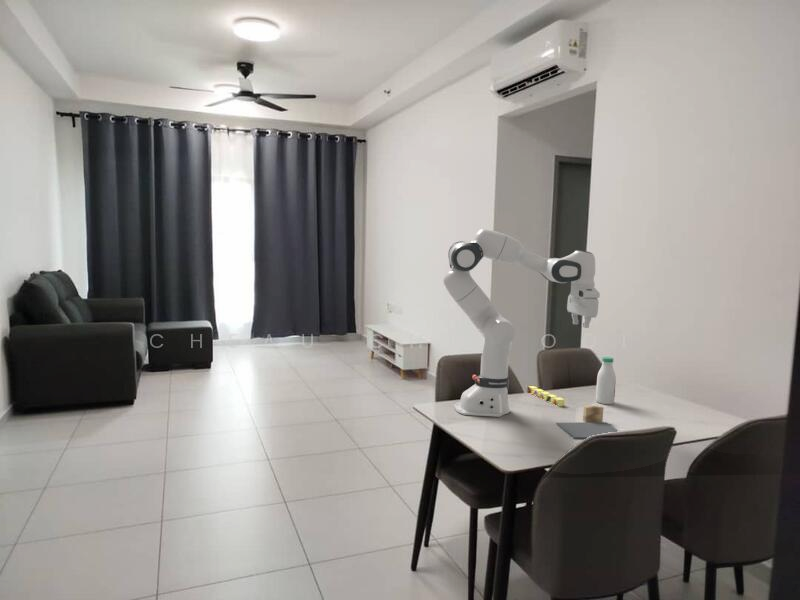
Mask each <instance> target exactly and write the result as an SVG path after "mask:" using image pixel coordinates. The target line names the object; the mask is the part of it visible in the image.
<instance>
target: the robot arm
mask: <svg viewBox="0 0 800 600" xmlns="http://www.w3.org/2000/svg"><path fill="white" fill-rule="evenodd" d="M483 258H486V259H489V260H493V261H495V262H498V263H500V264H505V265H510V266H514V265H517V266H522V267H525V268H528V269H530V270H533V271H535V272H538V273H539V274H540V275H542V277H543V278H545V279H546V281H548V282H552V283H559V284H566V283H570V293H569V295H568V296H567V303H566V309H567V312H568V313H571V318H572V324H573V325H579V319H578V316H581V317H582V316H583V319H584V322H583V324H582V325H583V326H582V327H583V328H584V329H589V328H590V323H591V321H592V318H596V317H597V316H598V313H599V299H600V297H601V296H600V295H601V294H600V293H601V292H599V290H597V288H596V287H595V275H596V259H595V258H596V257H595V255H594V254H593V253H592V252H590V251H587V250H586V251H585V250H580V249H578V250H574V252H572V253H570V254H569V255H566V256H563V257H560V258H558V257H543V256H542V255H538V254H537V253H534V252H531V251H529V250H527V249H526V248H525V247H524V245H523V243H522V242H521V241H520V240H518V239H517V238H514V237H513V236H510V235H508V234H506V233H503V232H499V231H496V230H493V229H492V230H491V229H485V228H483V229H480V230H478V231H477V232H476V233H475V235H474V237H473V239H472V240H471V241H470V242H469V241H468V242H467V241H465V240H464V241H463V240H461V241H460V240H459V241H457V242H454V243H453V244H452V245H451V246H450V248H449V249H448V261H449V268H450V270H448V271H447V273H446V274H445V275H444V278H443V284H444V286H445V288H446V290H447V291H448V294H450V296H451V298H452V299H453V301H455V303H457V306H459V308H460V309H461V310H462V312H464V314H465V315H466V316H467V318H468V319H469V320H470V321H471V323H472V324H473V325H474V326H475V328H476V329H477V331H478V332H479V333H480V334H481V335H482V337H484V345H483V351H482V354H481V356H480V374H479V375H478V376H477V375H476V374H473V375H472V380H474V384H473V385H472V386H470V387H469V388H468V389H466V390H464V391H463V392H462V394H461V396H460V400H459V402H456V403H455V404H454V410H455V411H456V412H457V413H459V414H461V415H464V416H475V417H477V416H478V417H480V416H481V417H494V418H495V417H496V418H498V417H499V418H500V417H503V415H507V414H509V413H510V412H511V409H510V405H509V396H508V391H509V386H510V381H509V362H510V361H509V360H510V353H511V349H512V344H513V340H514V338H515V335H516V332H515V328H514V325H513V323H512V322H511V321H510V320H508V319H507V318H505V317H503V316H502V315H501V314H500V313H499V311H498V310H497V308H496V307H495V306H494V304H493V302H491V300H490V298H489V297H488V296H487V294H486V293H485V292H484V290H482V288H481V287H480V285H478V283H477V282H476V281H475V280H474V278H473V277H472V276H471V271H472V270H474V268H475V267H477V265H478V264H479V263H480V262H481V260H482V259H483Z"/></svg>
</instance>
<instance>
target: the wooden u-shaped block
mask: <svg viewBox="0 0 800 600" xmlns="http://www.w3.org/2000/svg"><path fill="white" fill-rule="evenodd" d="M582 417H583V418H582V421H583V422H604V421H603V418H604V407H603V406H602V405H584V406H583V416H582Z"/></svg>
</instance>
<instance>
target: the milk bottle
mask: <svg viewBox="0 0 800 600" xmlns="http://www.w3.org/2000/svg"><path fill="white" fill-rule="evenodd" d="M601 362H602V364H601V367H600V369H599V370H598V372H597V377H596V389H595V402H597V404H598V403H599V404H603V405H613V404H614V403H615V398H616V397H615V396H616V395H615V394H616V381H617V380H616V379H617V378H616V372H615V370H614V367H613V363H614V358H613V357H609V356H603V357H602V359H601Z"/></svg>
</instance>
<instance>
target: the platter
mask: <svg viewBox="0 0 800 600" xmlns="http://www.w3.org/2000/svg"><path fill="white" fill-rule="evenodd" d="M527 393H528V394H529V393H533V394H532V395H534V394H535V395H536V396H540V397H539V399H540V398H542V399H546V400H545V401H546V402H547V401H549V402H553V403H552V404H555V405H557V406H556V407H564V406H565V399H564V398H562V397H558V395H555V394H551V392H548V391H545V390H543V389H542V388H538V387H537V386H533V385H531V386H527ZM536 396H535V397H536ZM542 399H541V400H542ZM549 402H548V403H549ZM555 405H554V406H555ZM563 405H564V406H563Z"/></svg>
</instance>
